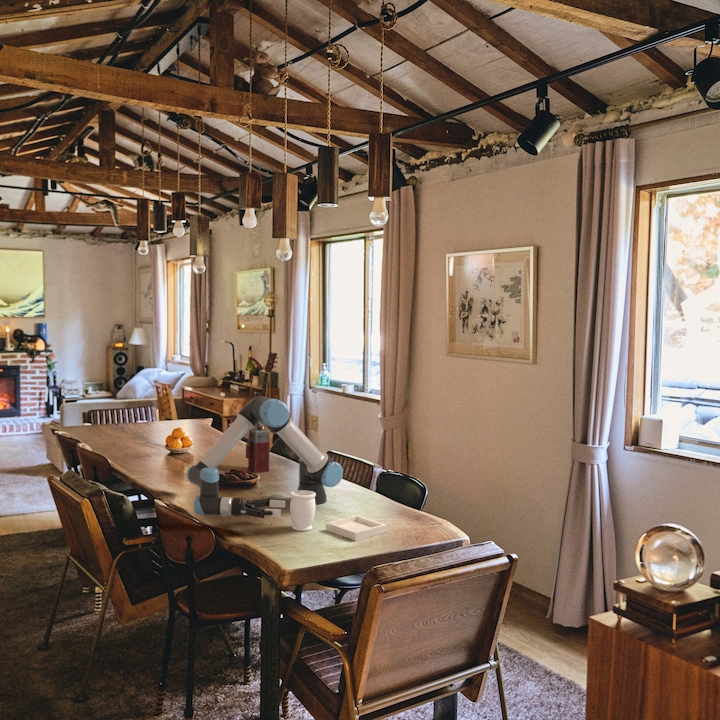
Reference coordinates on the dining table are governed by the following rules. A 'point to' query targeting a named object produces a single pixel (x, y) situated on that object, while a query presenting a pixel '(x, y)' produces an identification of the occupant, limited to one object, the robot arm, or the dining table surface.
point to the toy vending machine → (258, 449)
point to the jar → (302, 509)
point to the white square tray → (356, 527)
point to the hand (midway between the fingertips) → (283, 508)
